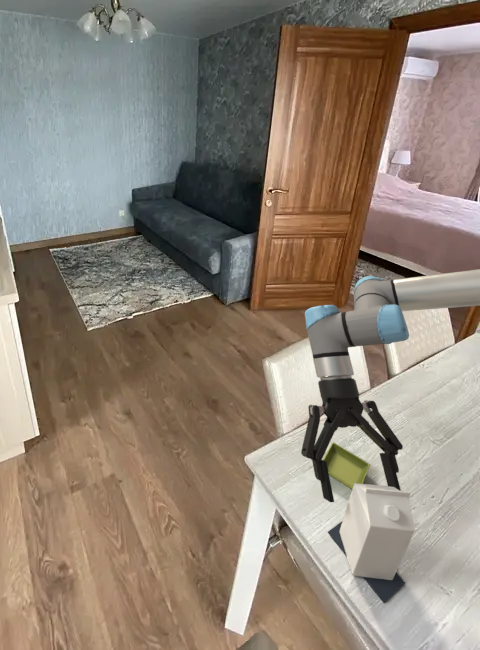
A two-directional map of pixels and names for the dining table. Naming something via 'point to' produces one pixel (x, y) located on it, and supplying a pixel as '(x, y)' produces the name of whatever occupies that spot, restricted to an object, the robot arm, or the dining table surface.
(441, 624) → the dining table surface
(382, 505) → the milk carton
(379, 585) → the edge strip
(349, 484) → the green rectangular tray
